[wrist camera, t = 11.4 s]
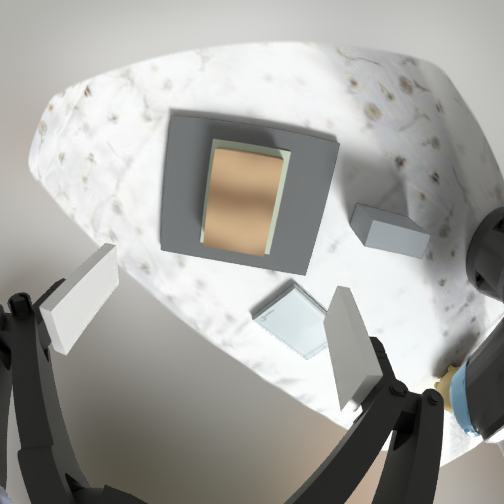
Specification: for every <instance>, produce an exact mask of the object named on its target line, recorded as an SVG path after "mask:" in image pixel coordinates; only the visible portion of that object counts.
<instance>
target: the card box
mask: <svg viewBox="0 0 504 504" xmlns="http://www.w3.org/2000/svg"><path fill="white" fill-rule="evenodd" d="M283 162H284V159H283V157H278V156H273V155H268V154H262V153H257V152H251V151H245V150H238V149H232V148H225V147H217V148H215V152H214V159H213V166H212V174H211V181H210V189H209V197H208V205H207V213H206V222H205V231H204V240H203V246H206V247H212V248H217V249H223V250H229V251H234V252H240V253H246V254H251V255H257V256H263V257H264V254H265V249H266V244H267V240H268V235H269V230H270V225H271V220H272V216H273V211H274V206H275V201H276V196H277V191H278V187H279V182H280V177H281V172H282V167H283Z"/></svg>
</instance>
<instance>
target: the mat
mask: <svg viewBox="0 0 504 504" xmlns="http://www.w3.org/2000/svg"><path fill="white" fill-rule="evenodd" d="M339 146H340V144H339V143H336V142H332V141H328V140H324V139H320V138H316V137H312V136H307V135H303V134H298V133H294V132H289V131H284V130H279V129H274V128H268V127H263V126H257V125H251V124H244V123H237V122H230V121H223V120H214V119H205V118H195V117H184V116H171V123H170V131H169V139H168V148H167V157H166V167H165V178H164V191H163V207H162V227H161V250H163V251H168V252H173V253H179V254H184V255H190V256H195V257H201V258H206V259H212V260H217V261H223V262H229V263H234V264H240V265H246V266H251V267H257V268H263V269H269V270H275V271H281V272H286V273H292V274H298V275H304V276H305V275H306V272H307V269H308V265H309V262H310V258H311V255H312V252H313V248H314V245H315V241H316V237H317V234H318V230H319V227H320V223H321V219H322V215H323V212H324V208H325V204H326V200H327V196H328V192H329V188H330V184H331V180H332V176H333V172H334V168H335V163H336V159H337V155H338V150H339ZM217 147H225V148H232V149H238V150H245V151H251V152H257V153H262V154H268V155H273V156H278V157H283V159H284V162H283V167H282V172H281V177H280V182H279V187H278V191H277V196H276V201H275V206H274V211H273V216H272V220H271V225H270V230H269V235H268V240H267V244H266V249H265V254H264V257H263V256H257V255H251V254H246V253H240V252H234V251H229V250H223V249H217V248H212V247H206V246H203V240H204V231H205V222H206V213H207V205H208V197H209V189H210V181H211V174H212V166H213V159H214V152H215V148H217Z"/></svg>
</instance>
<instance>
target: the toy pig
mask: <svg viewBox="0 0 504 504" xmlns="http://www.w3.org/2000/svg"><path fill="white" fill-rule="evenodd" d="M460 367H461V366H458V367H454V366H452V365H450V366H449V367H448V372H447V373H446V374H445V375H444V376H443V377H442V379H441V380H440V382H436V383H435V384H434V387H435V388H436V390H437V391H438V392H439V393H440V394H441V395H442V397H443V399H444V410H446V411H448V412H453V409H452V406H451V401H450V383H451V380H452V377H453V376H454V374H455V373H456V372H457V371H458V370H459V369H460ZM453 413H454V412H453Z"/></svg>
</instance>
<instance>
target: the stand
mask: <svg viewBox="0 0 504 504" xmlns="http://www.w3.org/2000/svg"><path fill="white" fill-rule="evenodd" d="M350 227H351V228H352V230H353V231H354V232H355V234H356V235H357V237H358V238H359V239H360V241H361V242H362V244H363V245H364V246H366V247H370V248H375V249H380V250H385V251H389V252H394V253H398V254H403V255H407V256H412V257H416V258H421V259H422V257H423V254H424V252H425V249H426V247H427V244H428V242H429V239H430V236H431V235H430V234H429V233H427V232H426V231H425V230H424V229H423V228H421V227H420V226H419V225H418V224H416V223H415V222H414V221H413V220H411V219H410V218H409V217H405V216H402V215H398V214H395V213H391V212H388V211H384V210H380V209H376V208H373V207H369V206H365V205H361V204H357V203H356V206H355V210H354V213H353V217H352V220H351V223H350Z"/></svg>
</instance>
